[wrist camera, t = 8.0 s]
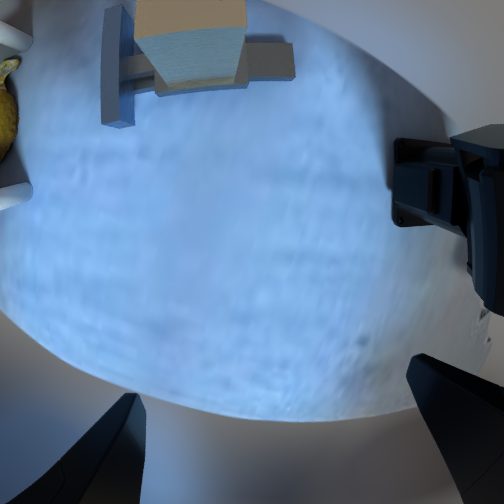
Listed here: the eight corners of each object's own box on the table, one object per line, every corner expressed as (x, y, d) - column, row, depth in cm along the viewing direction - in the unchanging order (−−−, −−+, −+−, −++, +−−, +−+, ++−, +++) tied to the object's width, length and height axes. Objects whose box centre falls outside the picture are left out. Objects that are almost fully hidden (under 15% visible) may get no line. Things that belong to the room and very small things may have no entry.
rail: (288, 48, 15) (292, 43, 14) (291, 81, 16) (295, 77, 15) (131, 61, 14) (127, 57, 13) (132, 94, 15) (127, 91, 14)
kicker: (241, 11, 13) (259, -71, 5) (248, 112, 15) (276, 74, 7) (119, 27, 12) (66, -37, 5) (119, 128, 15) (45, 112, 7)
